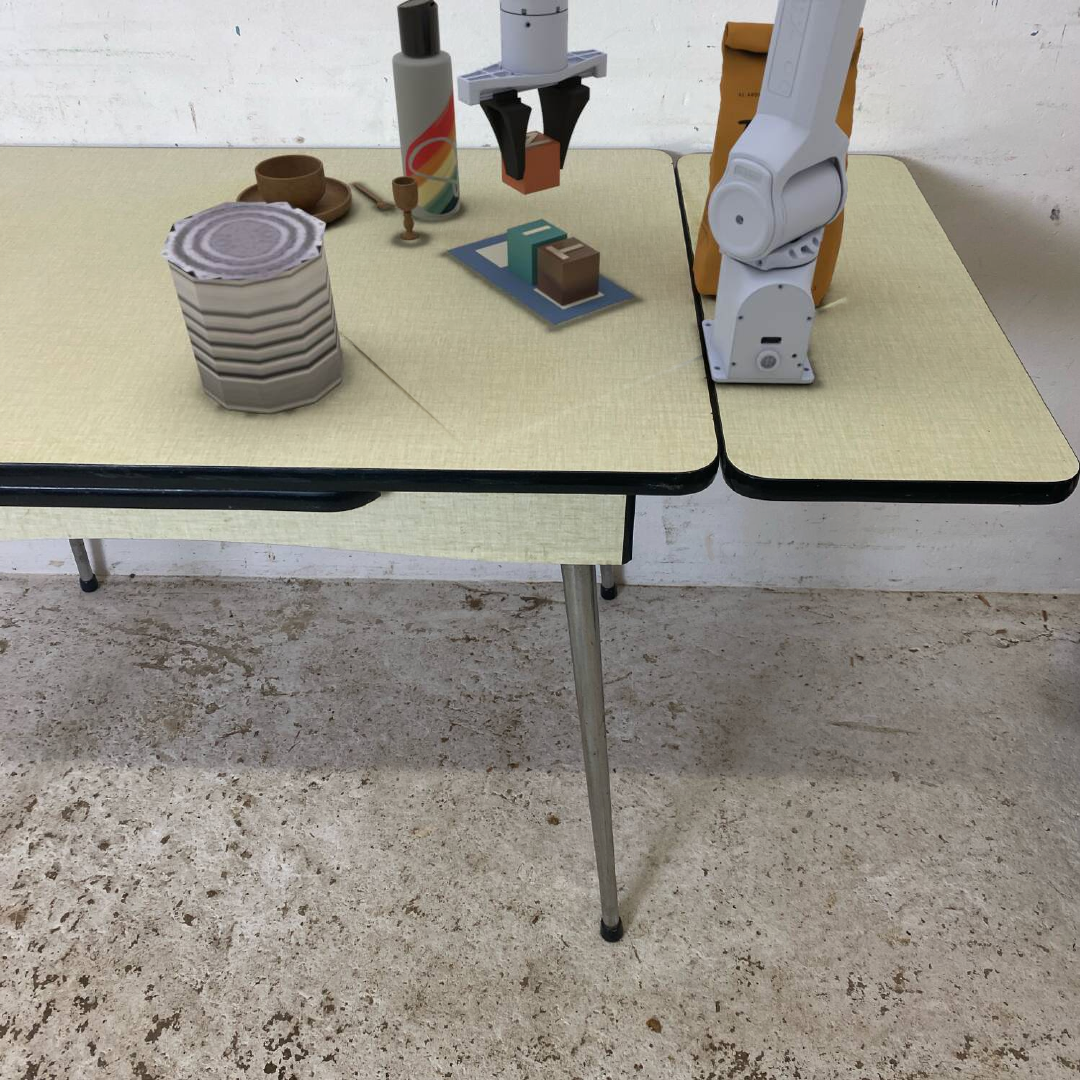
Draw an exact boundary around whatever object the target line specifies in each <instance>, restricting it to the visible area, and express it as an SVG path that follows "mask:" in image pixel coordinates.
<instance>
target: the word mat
mask: <svg viewBox="0 0 1080 1080" xmlns="http://www.w3.org/2000/svg"><path fill="white" fill-rule="evenodd" d="M446 251H447V252H448V253H449V254H451V255H452V256H453V257H455V258H456V259H458V260H459V261H460V262H462V263H464V264H465V265H467V266H468V267H469V268H471V269H472V270H474V271H475V272H477V273H478V274H480V275H481V276H482V277H484V278H485V279H486V280H488V281H489V282H491V283H492V284H494V285H495V286H497V287H498V288H500V289H501V290H502V291H505V293H507V294H509V295H510V296H512V297H513V298H514V299H516V300H517V301H518V302H520V303H521V304H523V305H525V306H526V307H528V308H529V309H530V310H532V311H533V312H534V313H536V314H537V315H539V316H541V318H543V319H545V320H546V321H548V322H549V323H551V324H552V325H553V326H555V325H559V324H562V323H564V322H567V321H570V320H572V319H575V318H578V317H581V316H584V315H587V314H590V313H592V312H595V311H598V310H601V309H604V308H607V307H609V306H612V305H615V304H618V303H620V302H623V301H626V300H629V299H632V298H635V297H636V295H635V294H633V293H631V292H629V291H628V290H627V289H625V288H624V287H621V286H619V285H618V284H616V283H615V282H613V281H611V280H609V279H608V278H606V277H605V276H603V275H601V274H600V273H599V290H598V295H595V296H592V297H589V298H586V299H583V300H580V301H577V302H573V303H570V304H567V305H564V306H562V305H560V304H559V303H557V302H556V301H554V300H553V299H551V298H550V297H548V296H547V295H546V294H544V293H543V292H541V291H540V290H538V288H537V284H535V285H530V284H529V283H527V282H526V281H524V280H523V279H521V278H520V277H518V276H517V275H515V274H514V273H512V272H511V271H509V270H508V253H507V232H505V233H503V234H498V235H494V236H492V237H488V238H484V239H481V240H477V241H475V242H471V243H467V244H464V245H460V246H457V247H454V248H451V249H447V250H446Z"/></svg>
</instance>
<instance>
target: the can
mask: <svg viewBox="0 0 1080 1080" xmlns="http://www.w3.org/2000/svg"><path fill="white" fill-rule="evenodd" d="M326 226H327V224H326V223H325V222H323V221H321V220H319V219H317V218H315V217H314V216H312V215H310V214H308V213H306V212H304V211H302V210H301V209H299V208H297V207H295V206H293V205H291V204H289V203H288V202H236V201H225V202H222V203H219V204H216V205H214V206H212V207H209V208H207V209H204V210H201V211H199V212H196V213H194V214H191V215H189V216H187V217H184V218H182V219H179V220H176V221H174V222H172V225H171V228H170V230H169V232H168V235H167V237H166V240H165V242H164V245H163V247H162V249H161V251H160V253H159V255H160V256H161V257H163V258H164V259H166V260H167V263H168V264H167V265H168V267H169V270H170V275H171V278H172V281H173V285H174V289H175V292H176V295H177V299H178V302H179V307H180V309H181V314H182V317H183V320H184V324H185V327H186V330H187V334H188V338H189V341H190V345H191V348H192V352H193V355H194V359H195V362H196V366H197V370H198V373H199V377H200V380H201V384H202V388H203V391H204V393H205V394H206V395H208V396H209V397H210V398H211V399H212V400H214V401H216V402H217V403H218V404H219V405H221V406H222V407H224V408H225V409H226V410H227V411H237V412H247V413H257V414H266V415H272V414H276V413H280V412H284V411H288V410H292V409H295V408H299V407H304V406H307V405H311V404H315V403H317V402H318V401H320V400H321V399H322V398H323V397H324V396H325V395H327V394H328V393H329V392H331V391H332V390H333V389H334V388H336V387H337V386H338V385H340V383H342V382H343V373H344V372H343V371H344V369H343V366H344V358H343V352H342V351H343V350H342V345H341V339H340V332H339V328H338V327H339V326H338V321H337V314H336V309H335V303H334V297H333V289H332V283H331V278H330V277H331V276H330V272H329V266H328V265H329V264H328V259H327V254H326V247H325V242H324V241H325V240H324V235H325V231H326Z"/></svg>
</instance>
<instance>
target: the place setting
mask: <svg viewBox="0 0 1080 1080" xmlns="http://www.w3.org/2000/svg"><path fill="white" fill-rule="evenodd" d="M254 175H255V179H256V183H254V184H252V185H250V186H248V187H246V188H245V189H244V190H242V191H241V192H240V193H239V194H238V195H237V196H236V200H235V202H288V203H289V204H291V205H293V206H295V207H297V208H299V209H301V210H302V211H304V212H306V213H308V214H310V215H312V216H314V217H315V218H317V219H319V220H321V221H323V222H325V223H326V225H328V224H330V223H332V222H335V220H338V219H339V218H340V217H342V216H344V214H345V213H346V212H347V211H348V210H349V208H350V206H351V204H352V201H353V199H352V198H353V193H352V189H351V187H350V186H349V185H348V184H346V183H345V182H343V181H341V180H339V179H336V178H333V177H330V176H325V168H324V163H323V161H322V160H320V159H319V158H318V157H316V156H311V155H307V154H283V155H282V154H281V155H277V156H273V157H269V158H267V159H264V160H262V161H260V162H259V163H257V165H255V167H254ZM353 185H354V187H356V188H357V189H359V190H360V191H361V192H363V193H364V194H365V195H367V196H369V197H370V198H372V199H373V200H374V201H375V202H377V203H376V207H377V208H379V209H389V208H394V207H396V208H397V209H399V210H401V211H403V212H402V213H403V217H404V218H403V221H402V225H403V228H404V229H405V232H403V233H402V234H400V236H399V237H400V239H401V240H403V241H416V240H418V239H419V238H420V237H421V235H420V234H419V233H417V232H415V231H414V227H415V222H414V219H413V215H412V211H411V210H413V209H414V208H415V207H416V206H417V204H418V185H417V179H416V178H414V177H410V176H403V175H402V176H397V177H394V178H393V179H392V180H391V187H392V196H393V201H394V203H393V204H392V203H388V202H386V201H383V200H382V199H381V198H380V197H378V196H377V195H375V194H374V193H372V192H371V191H370V190H368V189H367V188H366V187H364V186H363V185H361V184H359V183H358V182H353Z"/></svg>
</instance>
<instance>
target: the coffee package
mask: <svg viewBox="0 0 1080 1080" xmlns="http://www.w3.org/2000/svg"><path fill="white" fill-rule="evenodd" d="M773 27H774V23H765V22H762V23H761V22H748V21H747V22H745V21H743V22H742V21H740V22H737V21H729V20H728V21H727V22H725V25H724V30H723V34H722V39H721V45H720V46H721V47H720V49H721V56H722V63H721V75H720V76H721V77H720V82H719V93H720V94H719V95H720V102H719V110H718V116H717V121H716V130H715V136H714V143H713V148H712V153H711V156H710V160H709V163H708V165H709V177H708V178H709V179H708V181H709V189H708V193H707V195H706V200H705V204H704V209H703V212H702V218H701V220H700V221H701V222H700V224H699V225H700V226H699V229H698V234H697V241H696V246H695V253H694V257H693V258H694V259H693V265H692V272H693V275H694V278H693V279H694V284H695V287H696V290H697V292H698V294H700V295H702V296H708V295H711V296H717V290H718V283H719V275H720V268H721V260H722V254H721V253H720V252H719V248H720V246H719V245H718V243H717V242H716V240H715V238H714V236H713V234H712V231H711V228H710V224H709V218H708V206H709V200H710V197H711V194H712V192H713V190H714V188H715V187H716V186H717V184H718V183H719V182H720V180H721V179H722V177H723V175H724V173H725V171H726V167H727V163H728V158H729V153H730V151H731V149H732V148H733V146H734V145H735V144H736V142H737V141H738V139H739V138H740V136H741V135H742V134H743V132H744V131H745V130H746V128H747V127H748V126H749V124H750V123H751V121H752V120H753V118H754V117H755V115H756V113H757V107H758V102H759V97H760V92H761V87H762V82H763V77H764V72H765V67H766V62H767V57H768V52H769V47H770V42H771V37H772V32H773ZM863 39H864V27H862V26H860V27H859V31H858V35H857V38H856V42H855V46H854V50H853V54H852V58H851V62H850V66H849V70H848V73H847V77H846V81H845V85H844V89H843V93H842V97H841V101H840V104H839V108H838V112H837V116H836V120H835V123H836V124H837V125H838V126H839V128H840V129H841V130H842V131H843V132H844V133H845V134H846V135H847V137H848V138H849V141H850V139H851V136H852V131H853V124H854V107H855V103H856V102H855V101H856V93H857V78H858V72H859V71H858V63H859V60H860V54H861V51H862V43H863ZM848 155H849V154H848V152H847V155H846V162H845V170H846V173H847V171H848V165H849V156H848ZM844 222H845V206H844V207H843V209H842V211H841V212H840V214H839V215H838V216H837V218H836V219H835V220H834V221H832V222H831V223H829V224H828V225H826V226H825V228H824V233H823V238H822V241H821V242H820V247H819V252H818V256H817V261H816V266H815V271H814V276H813V281H812V286H811V294H812V298H813V301H814V306H815V308H817V307H819V306H820V302H821V300H822V299H823V298H824V297H825V296H826V294H827V293H828V291H829V290H830V288H831V283H832V281H833V277H834V274H835V270H836V266H837V261H838V258H839V253H840V249H841V244H842V238H843V237H842V236H843V229H844Z"/></svg>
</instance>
